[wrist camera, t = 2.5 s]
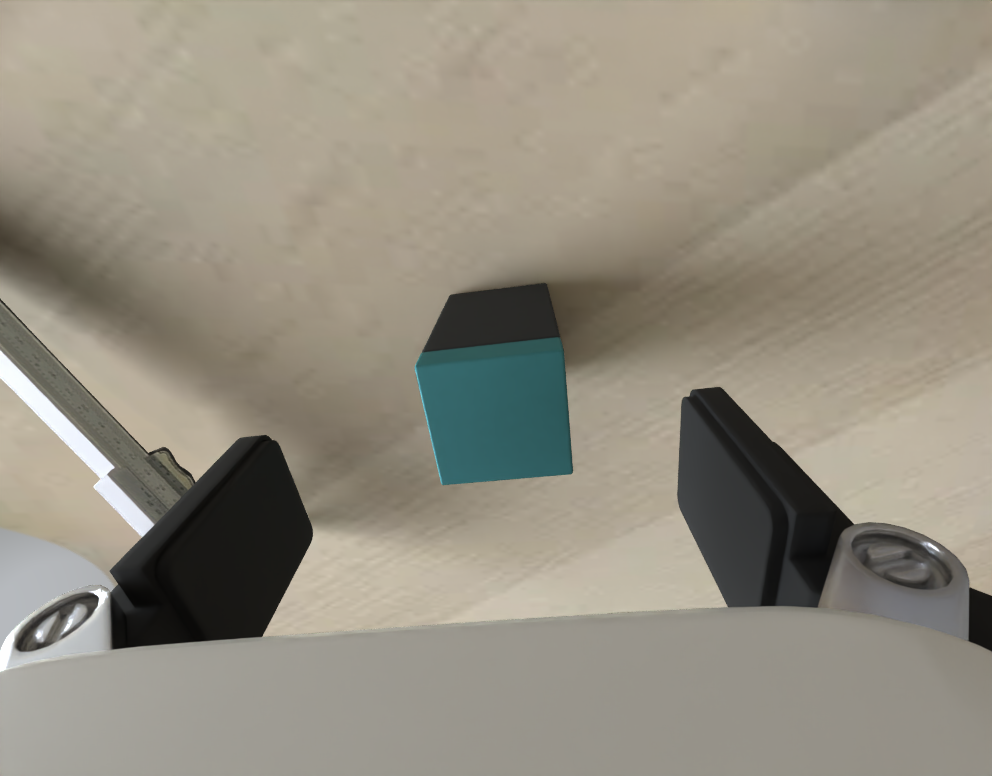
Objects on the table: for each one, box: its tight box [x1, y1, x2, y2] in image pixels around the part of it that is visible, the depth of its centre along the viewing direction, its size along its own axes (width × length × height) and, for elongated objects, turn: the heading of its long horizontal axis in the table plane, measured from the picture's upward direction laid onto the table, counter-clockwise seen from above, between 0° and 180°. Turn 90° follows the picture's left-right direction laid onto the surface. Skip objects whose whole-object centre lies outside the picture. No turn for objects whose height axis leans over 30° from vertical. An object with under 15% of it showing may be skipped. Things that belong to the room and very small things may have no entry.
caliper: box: [0, 299, 196, 537], centre depth 17 cm, size 20×1×6 cm, turn 39°
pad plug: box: [415, 283, 573, 485], centre depth 15 cm, size 4×4×7 cm
